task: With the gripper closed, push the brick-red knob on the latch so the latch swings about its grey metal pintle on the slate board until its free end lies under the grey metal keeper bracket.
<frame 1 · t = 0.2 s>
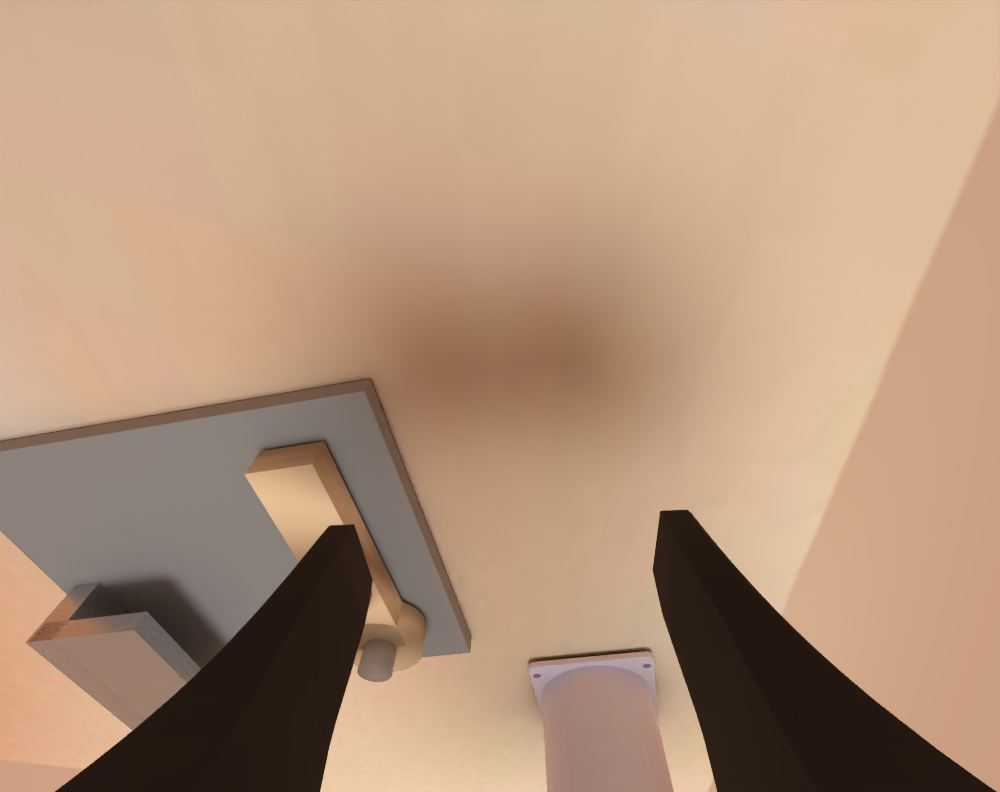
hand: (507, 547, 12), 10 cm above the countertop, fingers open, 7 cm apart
board: (246, 556, 27), on the countertop
latch: (340, 600, 23), point 3 cm above the countertop, hinge at 0.0°
keeper: (191, 626, 31), resting on board
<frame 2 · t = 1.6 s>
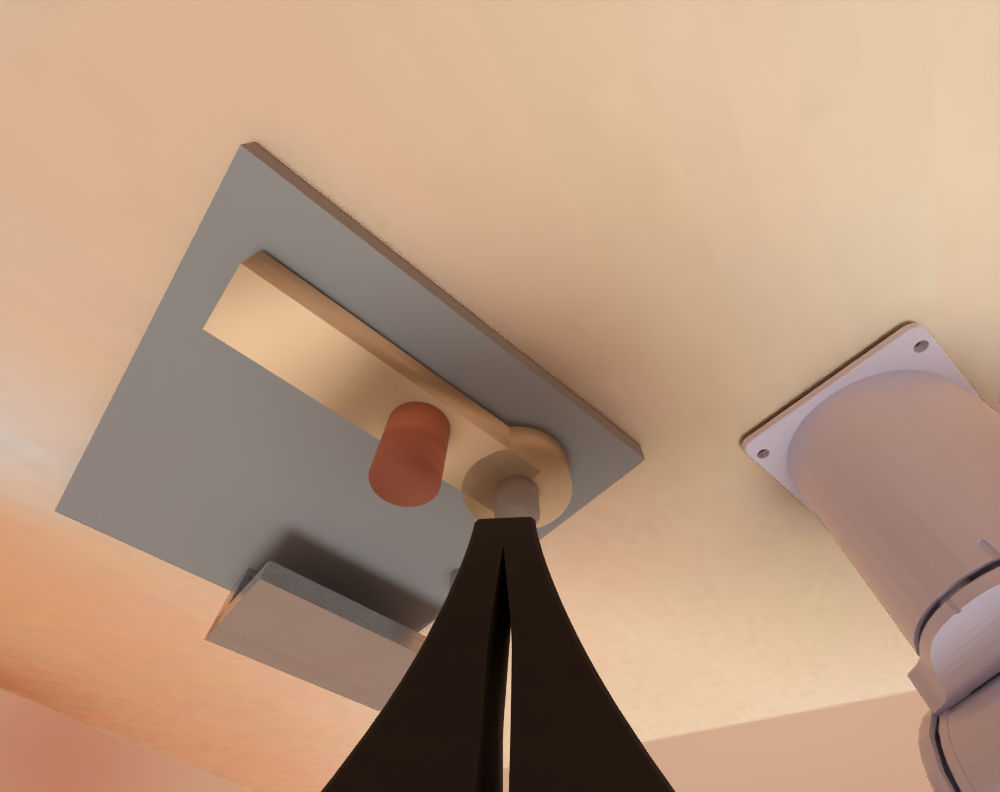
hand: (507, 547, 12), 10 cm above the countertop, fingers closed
board: (340, 472, 24), on the countertop
latch: (408, 434, 18), point 3 cm above the countertop, hinge at 0.0°
keeper: (365, 586, 28), resting on board
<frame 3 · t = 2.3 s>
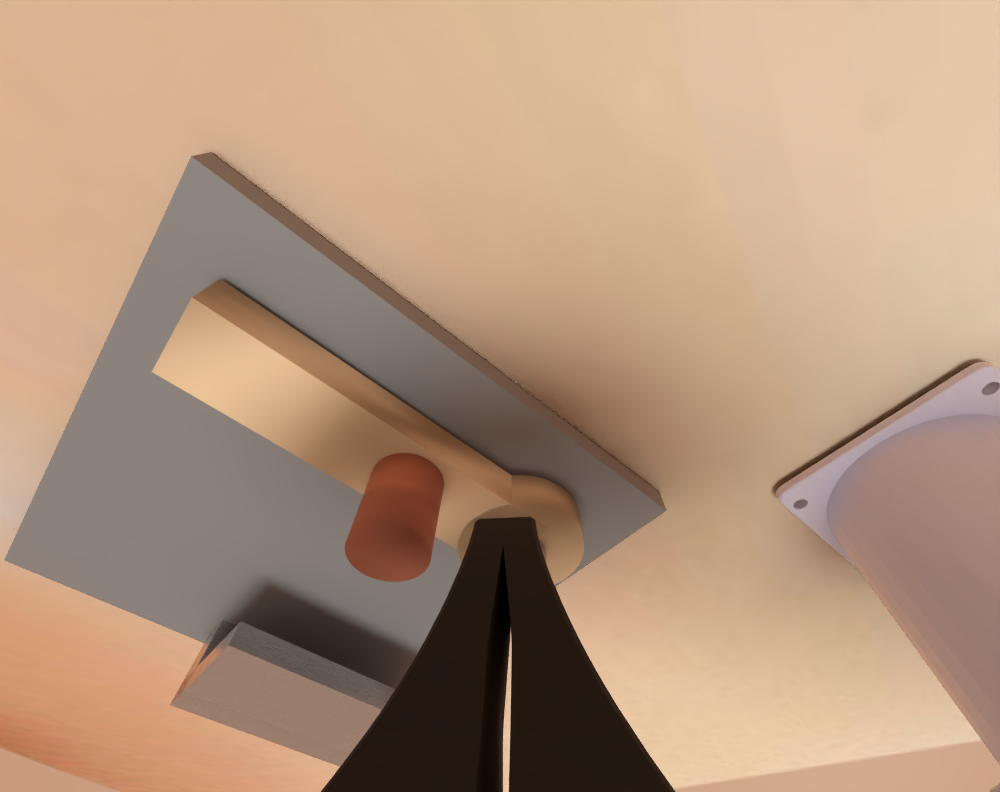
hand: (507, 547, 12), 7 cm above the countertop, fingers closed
board: (323, 518, 21), on the countertop
latch: (394, 491, 16), point 3 cm above the countertop, hinge at 0.0°
keeper: (353, 636, 26), resting on board
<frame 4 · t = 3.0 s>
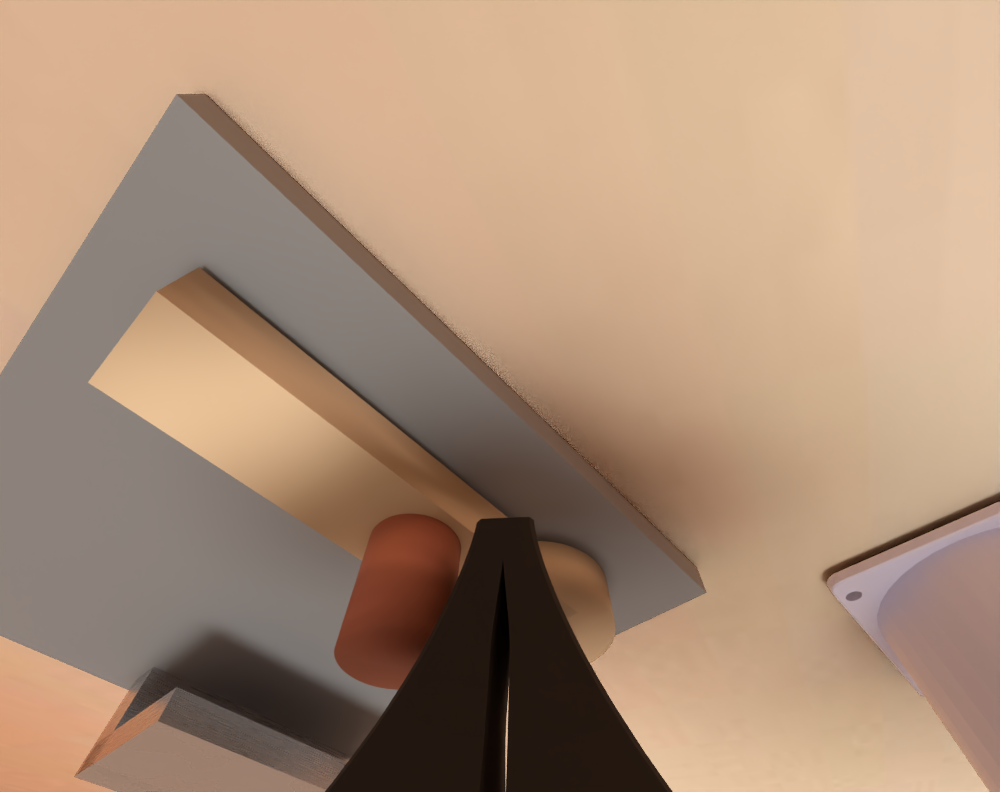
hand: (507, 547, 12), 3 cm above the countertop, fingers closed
board: (293, 562, 17), on the countertop
latch: (399, 563, 12), point 3 cm above the countertop, hinge at 0.0°, touching gripper
keeper: (310, 689, 22), resting on board
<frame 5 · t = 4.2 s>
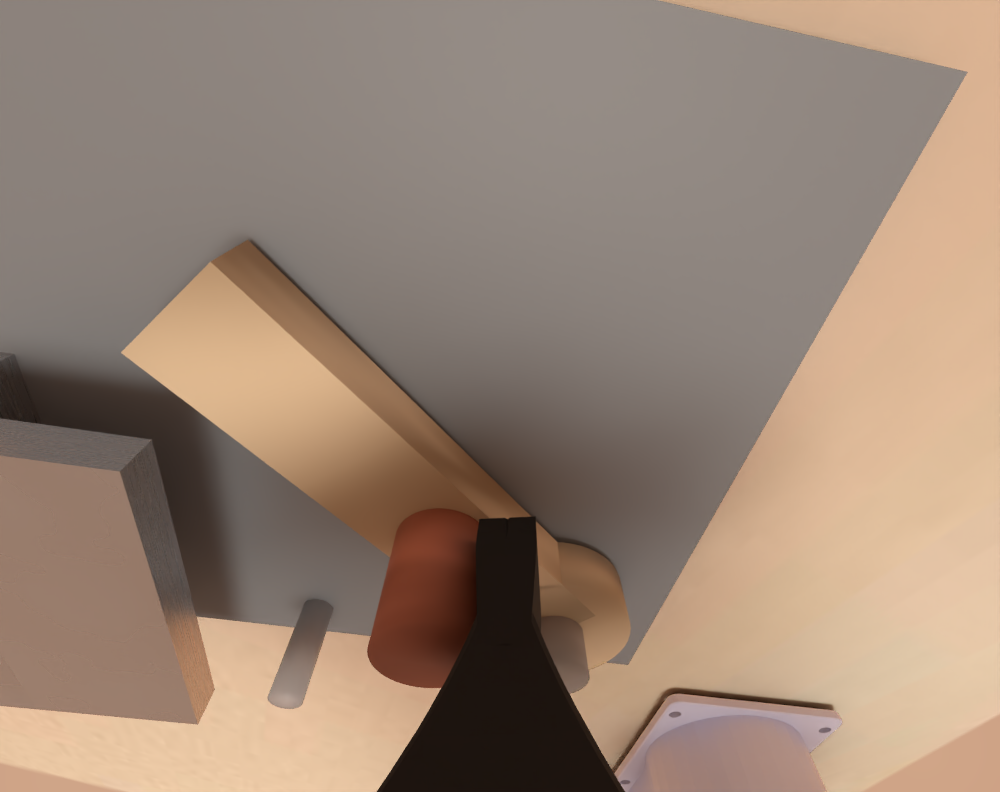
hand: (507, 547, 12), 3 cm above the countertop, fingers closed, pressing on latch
board: (361, 399, 14), on the countertop
latch: (429, 558, 12), point 3 cm above the countertop, hinge at 47.8°, touching gripper
keeper: (154, 509, 16), resting on board
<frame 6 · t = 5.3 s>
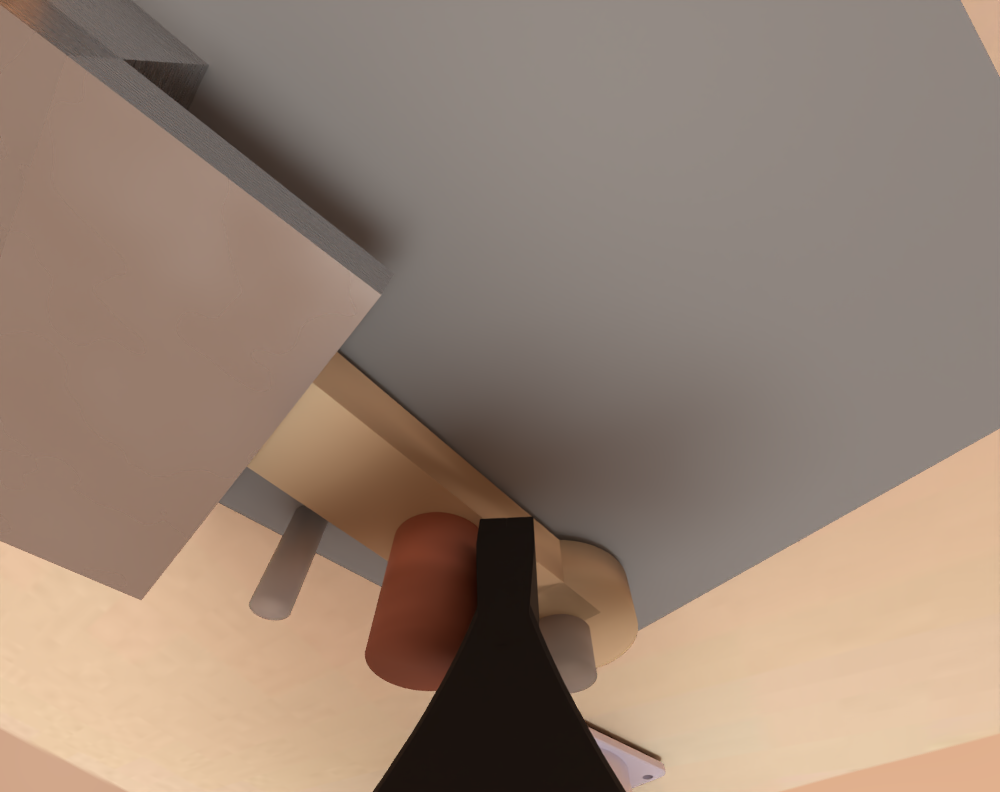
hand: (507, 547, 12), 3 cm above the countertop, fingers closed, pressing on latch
board: (522, 335, 12), on the countertop
latch: (426, 562, 12), point 3 cm above the countertop, hinge at 83.0°, touching gripper
keeper: (187, 327, 12), resting on board
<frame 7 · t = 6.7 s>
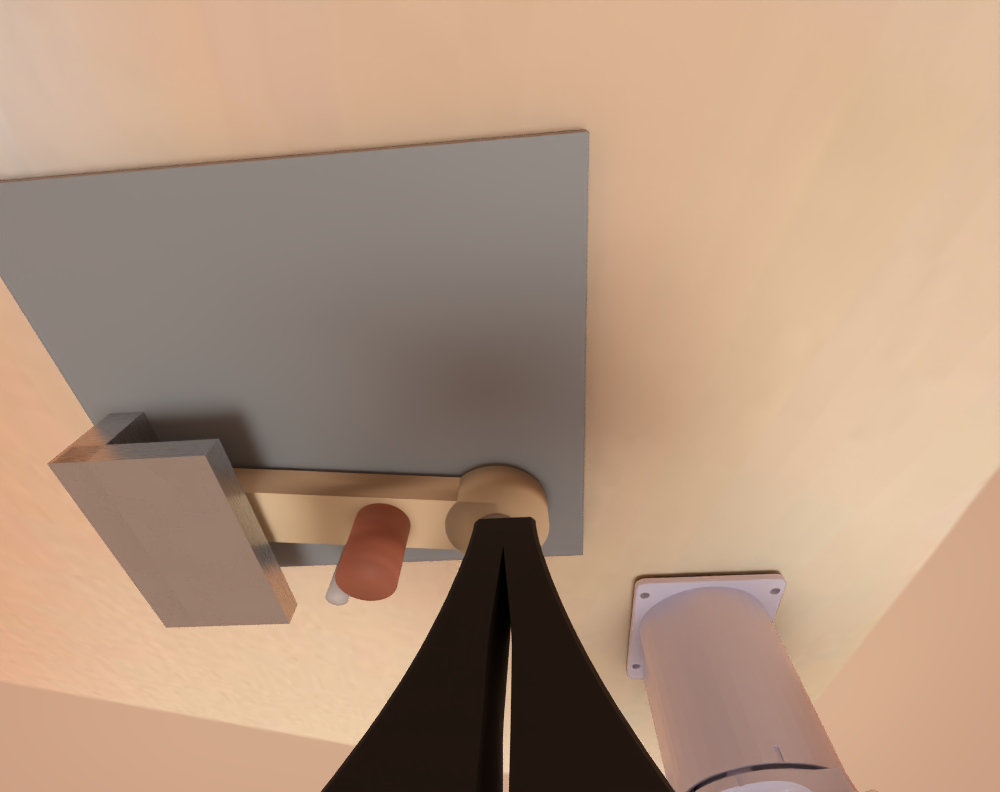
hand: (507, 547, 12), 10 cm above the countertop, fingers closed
board: (339, 398, 21), on the countertop
latch: (371, 536, 21), point 3 cm above the countertop, hinge at 83.2°
keeper: (239, 498, 25), resting on board
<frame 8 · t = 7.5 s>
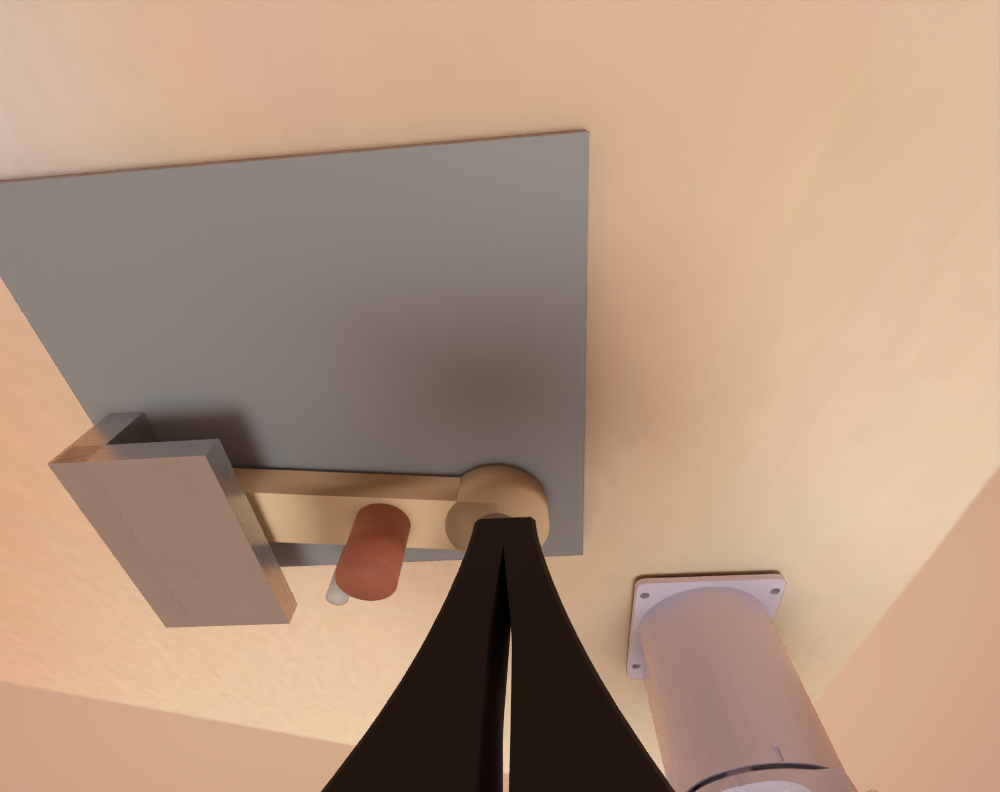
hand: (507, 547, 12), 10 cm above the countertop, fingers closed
board: (339, 398, 21), on the countertop
latch: (371, 536, 21), point 3 cm above the countertop, hinge at 83.2°
keeper: (239, 498, 25), resting on board
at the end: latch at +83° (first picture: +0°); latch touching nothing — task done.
